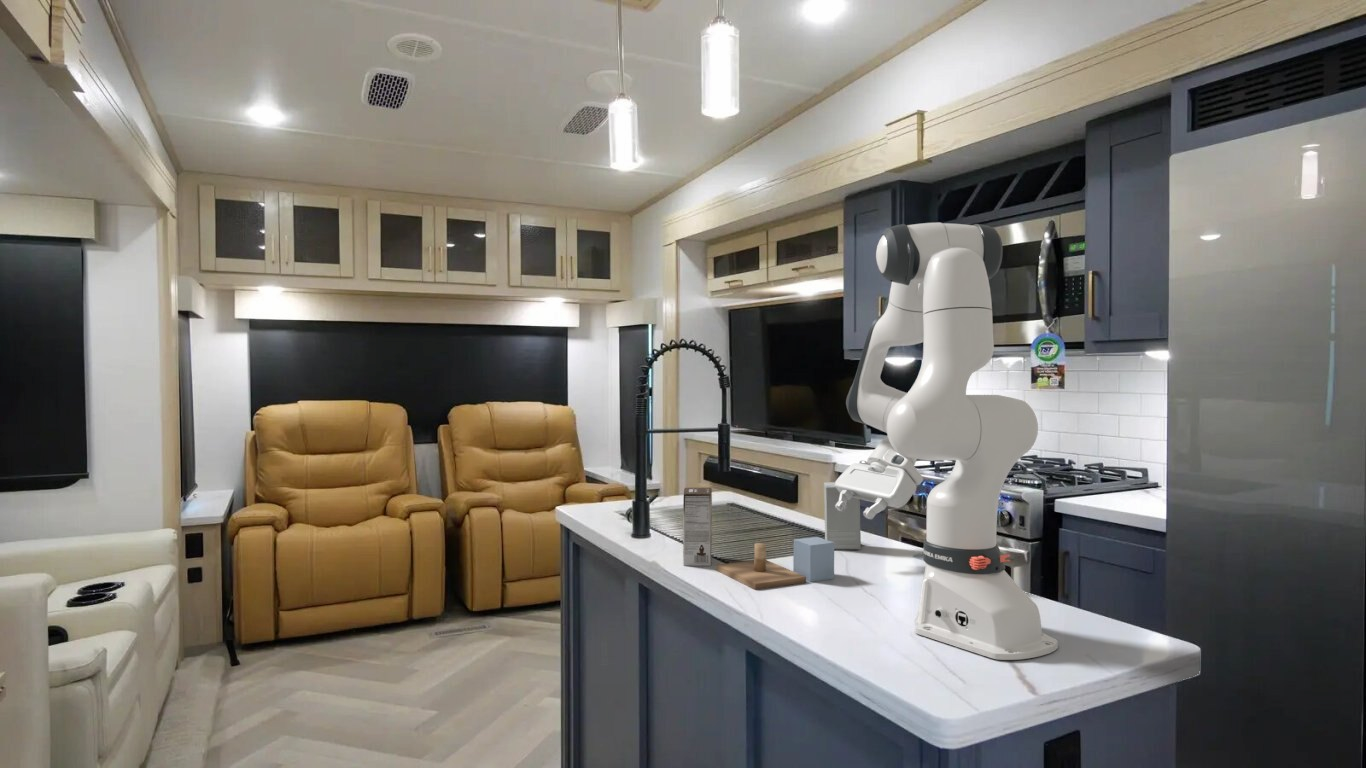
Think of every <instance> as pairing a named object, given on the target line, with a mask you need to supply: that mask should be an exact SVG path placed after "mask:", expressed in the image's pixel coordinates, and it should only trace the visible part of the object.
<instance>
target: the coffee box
mask: <svg viewBox="0 0 1366 768" xmlns="http://www.w3.org/2000/svg"><path fill="white" fill-rule="evenodd" d="M712 492H713V491H712V487H684V489H683V500H682V501H683V506H682V507H683V512H682V513H683V514H682V515H683V517H682V518H683V520H682V523H683V525H682V526H683V527H682V530H683V533H682V534H683V536H682V539H683V542H682V545H683V546H682V547H683V548H682V549H683V551H682V553H683V555H682V557H683V560H682V561H683V562H682V563H683V566H684V567H686V566H687V567H688V566H689V567H692V566H693V567H701V566H702V567H711V566H712V543H713V538H712V536H713V534H712V533H713V531H712V530H713V529H712V528H713V526H712V524H713V513H712V512H713V511H712V510H713V493H712Z"/></svg>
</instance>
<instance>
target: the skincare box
mask: <svg viewBox="0 0 1366 768" xmlns="http://www.w3.org/2000/svg"><path fill="white" fill-rule="evenodd" d="M839 497H840V492H839V491H838V490H837V489H836V487H835V481H831V482H829V481H828V482H827V481H826V482H825V481H824V482H823V500H824V501H823V502H824V503H823V504H824V539H825V540H828V541H831V542H834V551H835V550H861V548H862V547H861V545H862V544H861V543H862V539H861V537H862V536H861V499H857V498H853V497H851V499H850V500H847V503H846V505H847V506H848V507H847V508H846V509H845V511H844V512H842V511H838V510H837V509H836V507H835V505H836V504H837V502H838V501H839Z"/></svg>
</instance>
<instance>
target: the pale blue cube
mask: <svg viewBox="0 0 1366 768" xmlns="http://www.w3.org/2000/svg"><path fill="white" fill-rule="evenodd" d="M792 560H793V570H792V571H794V572H796V573H798V574H801V575H803V576H806V582H809V583H813V582H822V581H827V580H834V579H835V550H834V542H831V541H828V540H825V538H822V537H818V536H813V537H812V536H811V537H803V538H795V539H793V559H792Z"/></svg>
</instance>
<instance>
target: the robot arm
mask: <svg viewBox="0 0 1366 768" xmlns="http://www.w3.org/2000/svg"><path fill="white" fill-rule="evenodd" d="M878 240H879V241H878V243H877V246H876V251H875V260H876V265H877V268H878V271H879V274H880V276H882V277H883V278H884V279H885V280H887V281H888V282H891V285H890V288H889V289H890V290H889V294H888V295H889V297H888V304H887V307H886V309H885V311H884V313H883V314H881V315H878V316H877V317H876V318H875V319H874V320H873V322H872V323H871V325H870V327H869V328H868V329H869V330H868V333H867V335H866V338H865V341H864V345H863V348H862V351H861V356H860V359H859V362H858V365H857V369H856V373H855V376H854V379H853V382H852V385H851V386H850V388H849V391H848V394H847V396H846V399H845V405H846V409H847V413H848V415H849V417H850V418H851V420H853V421H854V422H857V423H860V424H863V425H866V426H870V427H872V428H874V429H877V430H879V431H880V432H884V433H886V434H887V436H886V437H885V438H883V440H881V441H879V443H878V444H877V446H876V447H875V448H874V449H873V451H872V452H871V454H870V455H869V456H868V458H867V460H866V461H865V460H860V461H859V462H854V463H852V464H850V465H849V466H848V467H847V468H846V469H845V470H844V471H843V472H842V473H841V474H840V475H839V476H838V478H837V479H836V480H835V481H834V482H835V487H836V489H837V490H838V491H839V492H840V497H839V501H838V502H837V504H836V505H835V507H836V509H837V510H838V511H842V512H844V511H845V509H846V508H847V507H848V506H847V505H846V503H847V500H850V499H851V497H853V498H857V499H860V501H861V500H862V501H867V502H871V503H874V504H872V505H871V506H870V507H867V506H866V507H865V509H864V511H863V512H862V515H863V516H864V518H865V519H868V520H873V519H874V518H875V516H876V515H877V514H879V513H880V512H883V511H885V509H886V508H887V507H891V508H894V509H901V508H902V507H904V506H905V505H907V503H908V502H909V501H910V499H911V497H912V496H913V495H914V493H915V492H916V490H917V486H920V485H921V483H923V481H924V478H923V476H922V474H921V473H920V472H919V470H918V469H917V468H916V467H915V466H916V462H917V460H922V461H927V462H932V461H933V462H934V461H940V462H941V461H955V464H954V467H953V468H952V471H951V473H950V474H949V475H948V477H947V478H946V479H945V480H943V481H942V482H940V483H938V484H936V485H935V486H934V487H933V488H932V489H931V490H930V491H929V493H928V496H927V499H926V537H925V539H924V540H923V547H922V553H923V555H922V556H923V557H922V558H923V562H925V564H924V567H925V568H924V573H923V579H922V584H921V592H920V599H919V600H920V601H919V606H918V610H917V614H916V617H915V620H914V621H915V626H914V633H915V634H916V635H920V636H922V637H926V638H930V639H933V640H934V641H935V640H936V641H938V642H940V643H944V644H947V645H951V646H952V647H953V646H954V647H957V648H959V649H963V650H966V651H968V652H972V653H975V654H978V655H980V656H984V657H987V658H990V659H994V660H1002V661H1014V660H1015V661H1016V660H1017V661H1019V660H1025V659H1026V660H1027V659H1031V658H1032V659H1033V658H1037V657H1041V656H1045V655H1049V654H1051V653H1054V652H1055V651H1057V649H1058V648H1059V642H1058V640H1057V639H1056V638H1054V637H1052V636H1050V635H1048V634H1046V633H1044V632H1043V630H1042V621H1041V614H1040V611H1039V608H1038V607H1039V606H1038V605H1037V604H1036V602H1034V601H1033V600H1032V599H1031V597H1030V596H1028V594H1027V593H1026V592H1025V590H1023V589H1022V588H1021V587H1020V586H1019V584H1017V583H1016V582H1015V580H1014V579H1013V578H1012V577H1011V576H1010V575H1009V574H1008V572H1006V570H1005V569H1006V566H1005V563H1008V562H1011V559H1007V558H1009V557H1011V554H1009V553H1008V554H1002V553H1001V550H1000V547H999V544H997V528H998V527H997V525H998V524H997V523H998V522H997V521H998V507H999V502H1000V501H999V499H1000V495H1001V492H1002V489H1003V486H1004V483H1005V481H1006V479H1007V477H1008V475H1009V473H1010V471H1011V470H1012V468H1013V467H1014V466H1015V464H1016V463H1017V462H1018V461H1019V460H1020V459H1021V458H1022V457H1023V456H1024V455H1025V454H1026V453H1028V452H1030V450H1031V449H1032V448H1033V446H1034V445H1035V442H1036V440H1037V438H1038V434H1039V433H1038V432H1039V424H1038V418H1037V416H1036V414H1035V411H1034V410H1033V408H1032V407H1031V405H1030V404H1029V403H1027V402H1026V401H1025V400H1023V399H1022V400H1021V399H1019V398H1013V397H1009V396H1006V395H1000V394H967V386H968V383H969V380H970V379H971V376H972V374H974V373H975V372H978V371H979V370H981V369H982V368H984V367H986V365H987V364H988V363H990V361H991V360H992V358H993V355H994V351H995V344H994V343H995V342H994V326H993V325H994V323H993V306H992V305H993V304H992V294H991V287H990V282H989V280H990V279H992V278H993V277H994V276H995V275H996V274H997V273H998V271H999V270H1000V268H1001V265H1002V261H1003V254H1004V253H1003V251H1004V247H1003V241H1002V240H1003V239H1002V238H1001V236H1000V234H999V232H998V231H997V230H996V229H995V228H994V227H992V226H989V225H985V224H981V223H980V224H979V223H975V224H963V223H962V224H961V223H950V222H949V223H947V222H946V223H942V222H939V221H938V222H925V223H924V222H923V223H915V224H907V225H906V224H905V223H902V224H898V225H892V226H890V227H887V228H885V230H884V231H883V232H882V233H881V234H880V236H879V239H878ZM921 343H923V347H922V361H921V364H920V365H921V366H920V369H919V371H918V375H917V377H916V379H915V381H914V382H913V384H912V386H911V388H910V389H909V390H908V392H907V391H906V392H905V391H902V390H900V389H896V388H895V387H892V386H890V385H887V384H886V383H884V381H882V379H881V374H882V372H883V368H884V365H885V361H886V358H887V354H888V352H889V349H890V348H891V347H901V346H902V347H904V346H905V347H907V346H915V345H919V344H921Z"/></svg>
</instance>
